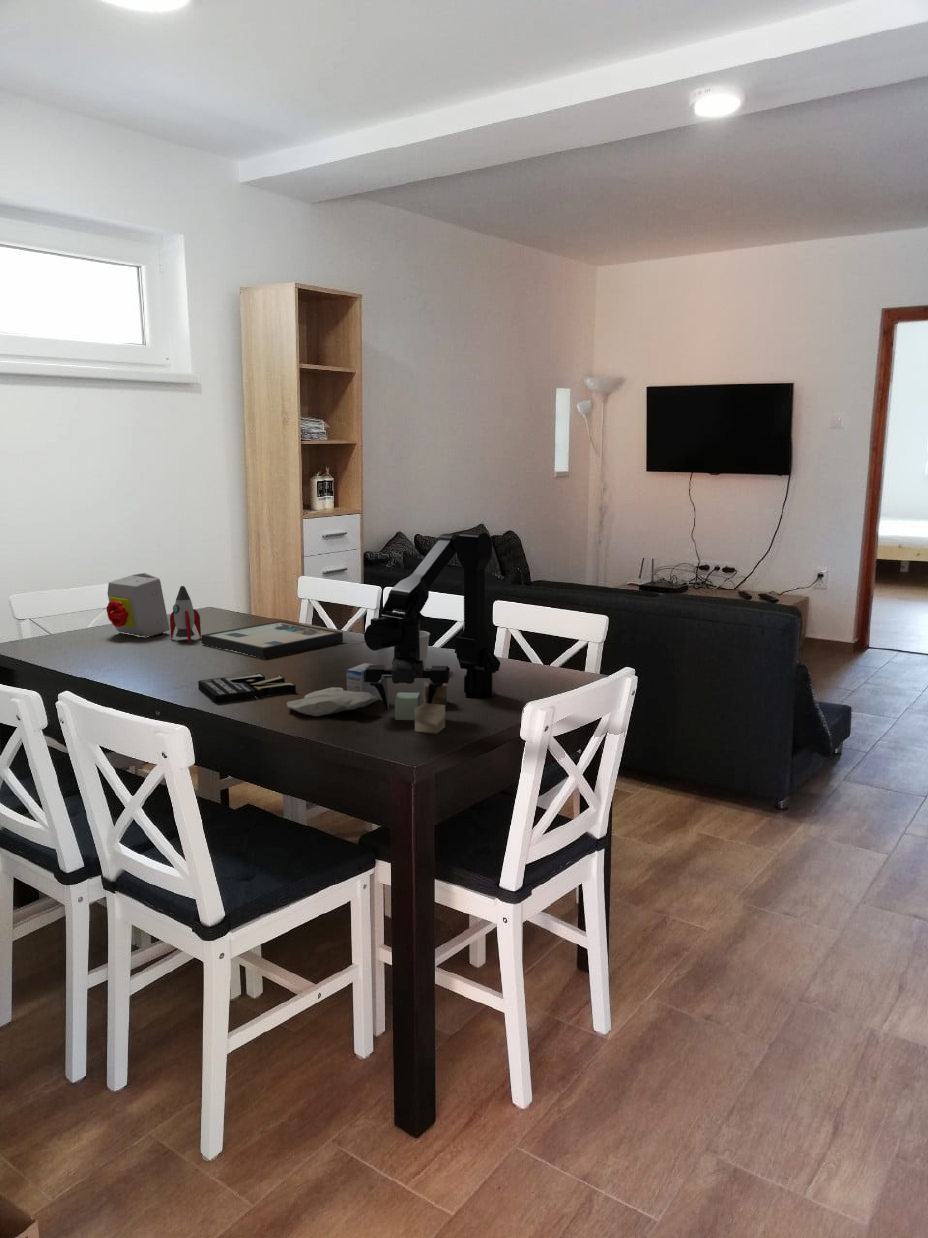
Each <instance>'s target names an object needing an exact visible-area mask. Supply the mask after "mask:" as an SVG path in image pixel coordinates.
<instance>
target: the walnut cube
mask: <svg viewBox="0 0 928 1238" xmlns="http://www.w3.org/2000/svg"><path fill="white" fill-rule="evenodd" d="M430 681H431V680H428V681H427V680H425V681H423V687H422V688H423V703H427V701H428V692H429V683H430ZM447 691H448V687H447V683H443V686H442V687H437V689H436V692H435V694H434V697H433V700H432V704H440V705H445V707H448V699H447V698H448V695H447V694H448V692H447Z"/></svg>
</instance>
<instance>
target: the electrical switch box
mask: <svg viewBox="0 0 928 1238" xmlns="http://www.w3.org/2000/svg"><path fill="white" fill-rule="evenodd" d="M107 586H108V587H107V593H106V594H107V597H108V598H107V599H108V604H107V606H106V614H107V618H108V621H109V622H111V624H112V625H113V626H114V627H115V629H116V631H117V632H118V631H119V632H124V633H129V634H134V635H139V636H145V637H147V636H152V637H154V636H153V635H155V636H157V635H161V634H162V633H165V632H168V631H169V630H170V623H169V619H168V613H167V609H166V603H165V599H164V593H163V589H162V587H163V586H162V583H161V580H160V578H159V577H156V576H154V575H151V574H149V573H146V572H142V573H137V574H131V575H128V576H125V577H121V578H119V579H115V580H113V581H110V582H108V585H107ZM119 632H118V633H119Z"/></svg>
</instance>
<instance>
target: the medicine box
mask: <svg viewBox="0 0 928 1238" xmlns="http://www.w3.org/2000/svg"><path fill="white" fill-rule="evenodd" d="M369 665H375V664H374V663H366V662H364V663H362V664H359V665H356V666H353V667H350V668H348V669H347V670H346V691H352V692H367V693H369V694H371V695H373V696H375V697H376V699H375V700H374V701H372V702H370V703H368V704H366V705H363V706H361V707H360V708H364V707H366V706H368V705H370V704H372V703H375V702H377V701H378V700H380V698H381V696H380V694H379V692H378V690H377V689H376V687H375V686H371V685H370V682H364V671H365V670H366V668H367V667H368V666H369Z"/></svg>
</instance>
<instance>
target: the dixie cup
mask: <svg viewBox="0 0 928 1238" xmlns="http://www.w3.org/2000/svg"><path fill="white" fill-rule="evenodd" d="M430 636H431V633H430V632H428V631H425V630H420V660H421V661H423V664H424V670H427V669H426V667H427V659H428V650H429V642H430V641H429V640H430Z"/></svg>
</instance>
